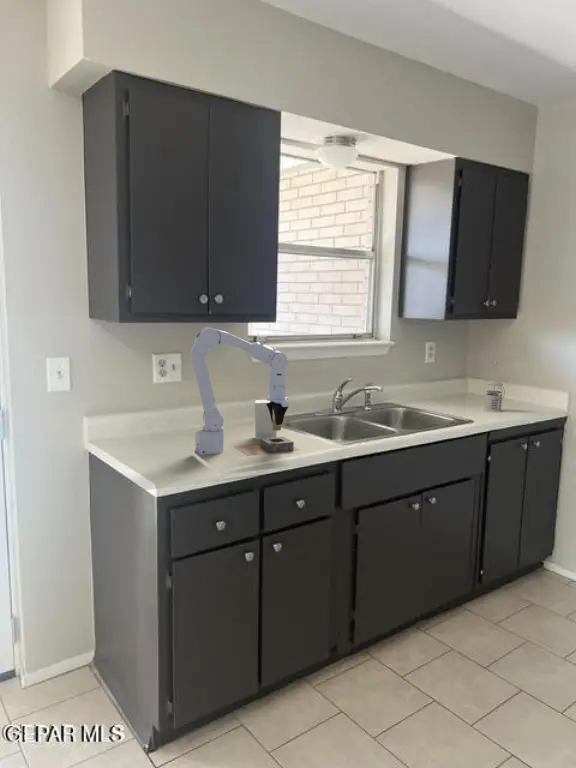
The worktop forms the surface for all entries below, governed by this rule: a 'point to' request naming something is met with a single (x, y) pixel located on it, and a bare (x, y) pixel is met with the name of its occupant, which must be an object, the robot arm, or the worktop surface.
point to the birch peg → (275, 427)
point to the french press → (494, 397)
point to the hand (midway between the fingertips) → (276, 423)
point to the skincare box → (263, 421)
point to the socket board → (255, 449)
